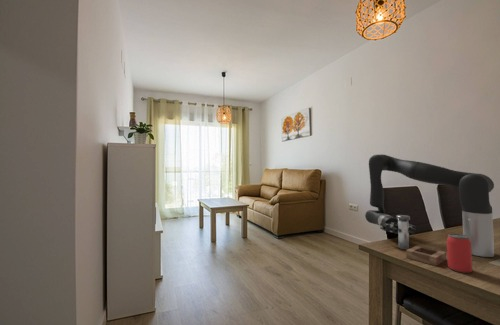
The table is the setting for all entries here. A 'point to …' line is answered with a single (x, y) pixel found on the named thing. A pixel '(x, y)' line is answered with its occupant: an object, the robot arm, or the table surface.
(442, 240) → the table surface
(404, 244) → the pin
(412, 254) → the socket block
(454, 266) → the beer can
